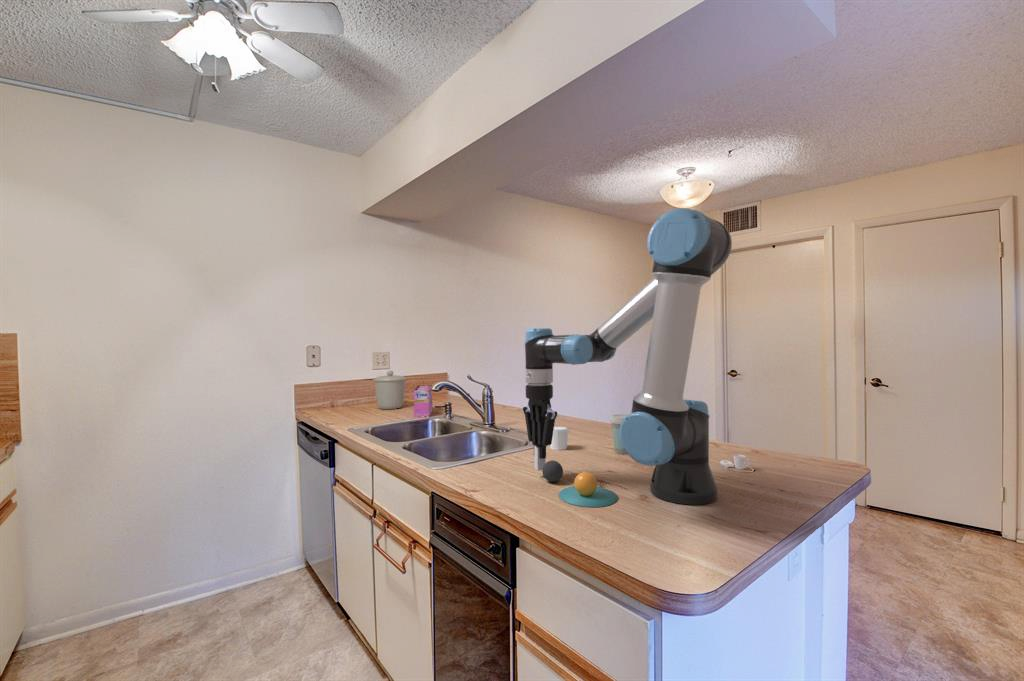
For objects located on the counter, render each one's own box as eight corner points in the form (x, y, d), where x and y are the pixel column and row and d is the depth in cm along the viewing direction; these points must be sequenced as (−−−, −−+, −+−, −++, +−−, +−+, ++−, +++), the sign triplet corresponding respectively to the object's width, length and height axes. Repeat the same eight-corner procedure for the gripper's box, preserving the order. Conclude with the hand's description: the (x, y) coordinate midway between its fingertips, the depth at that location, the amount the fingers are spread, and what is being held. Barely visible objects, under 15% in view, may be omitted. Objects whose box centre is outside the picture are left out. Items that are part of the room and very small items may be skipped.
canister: (388, 411, 232) (388, 372, 232) (366, 409, 242) (366, 371, 242) (413, 407, 247) (413, 370, 247) (391, 404, 257) (391, 369, 257)
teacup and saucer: (715, 466, 130) (715, 453, 130) (737, 464, 132) (737, 450, 132) (739, 475, 121) (739, 460, 121) (762, 472, 124) (761, 458, 124)
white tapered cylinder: (567, 451, 148) (567, 430, 148) (547, 450, 149) (547, 429, 149) (569, 446, 155) (569, 426, 155) (549, 445, 156) (549, 425, 156)
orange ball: (583, 473, 111) (591, 495, 108) (566, 477, 108) (574, 500, 105) (596, 467, 107) (605, 490, 104) (579, 471, 104) (588, 494, 101)
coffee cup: (633, 457, 140) (632, 419, 140) (607, 453, 144) (606, 417, 144) (640, 451, 147) (640, 415, 147) (615, 447, 151) (615, 413, 151)
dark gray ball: (552, 461, 121) (557, 481, 119) (536, 464, 118) (541, 485, 116) (563, 456, 117) (569, 477, 115) (547, 460, 114) (553, 481, 112)
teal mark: (630, 498, 103) (630, 497, 103) (586, 512, 96) (586, 511, 96) (588, 482, 115) (588, 482, 115) (546, 493, 107) (546, 492, 107)
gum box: (418, 410, 238) (418, 385, 238) (433, 409, 239) (432, 384, 239) (413, 417, 215) (413, 390, 214) (430, 417, 215) (429, 389, 215)
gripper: (514, 383, 124) (515, 465, 125) (542, 387, 114) (543, 477, 114) (536, 381, 129) (536, 461, 129) (564, 385, 118) (565, 472, 118)
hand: (540, 469), depth 121 cm, fingers closed
